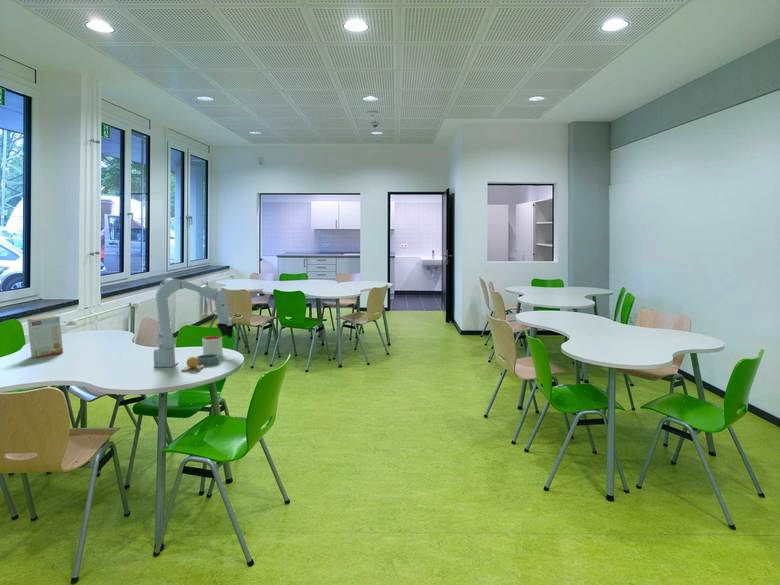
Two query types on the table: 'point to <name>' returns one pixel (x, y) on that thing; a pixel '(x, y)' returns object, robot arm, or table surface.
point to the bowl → (208, 359)
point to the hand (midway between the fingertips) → (227, 336)
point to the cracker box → (45, 336)
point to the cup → (212, 345)
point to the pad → (192, 368)
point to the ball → (192, 362)
